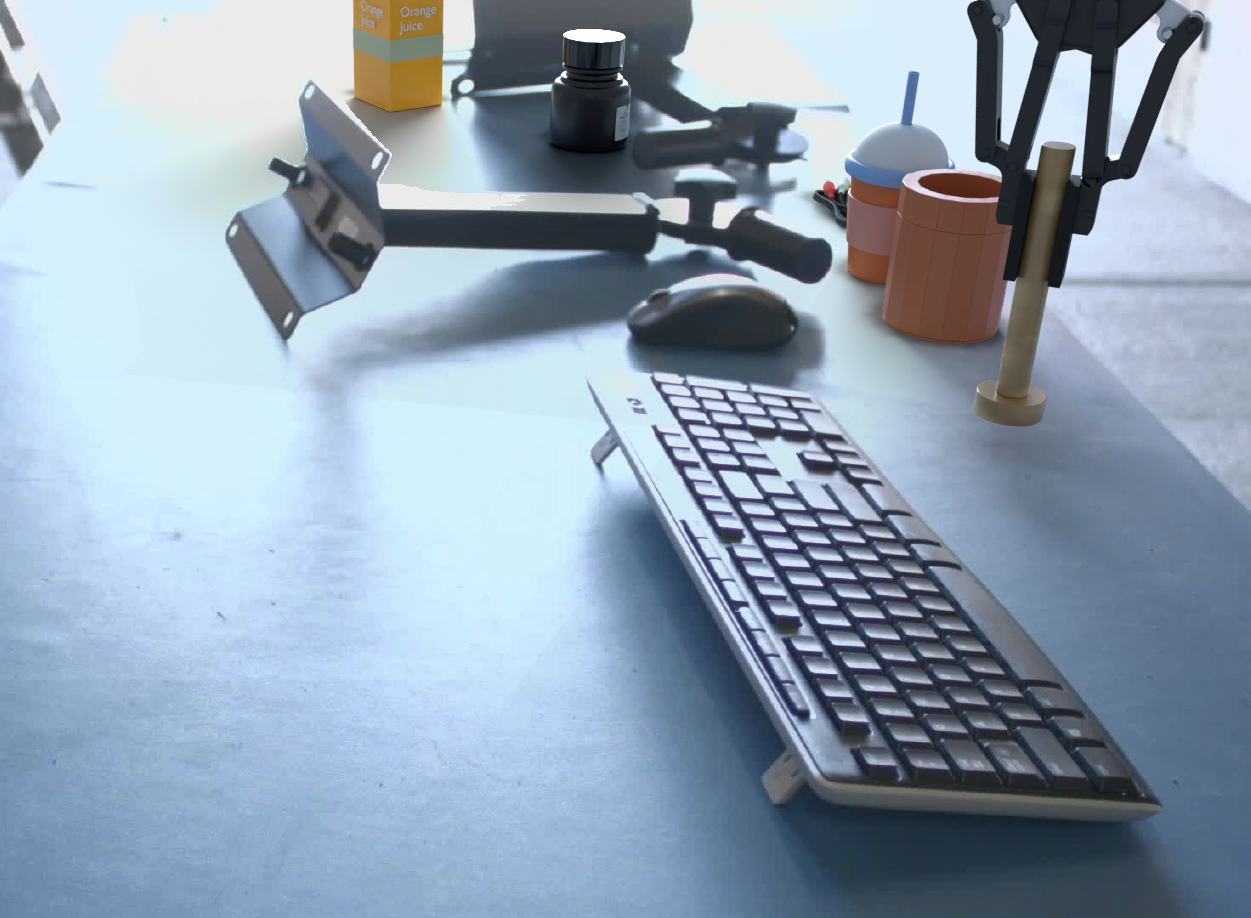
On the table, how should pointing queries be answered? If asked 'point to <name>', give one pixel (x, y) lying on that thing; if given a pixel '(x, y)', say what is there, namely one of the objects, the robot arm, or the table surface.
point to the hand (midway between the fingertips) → (1033, 277)
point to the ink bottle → (591, 93)
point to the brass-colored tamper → (1029, 298)
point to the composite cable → (835, 199)
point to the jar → (947, 258)
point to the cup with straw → (885, 185)
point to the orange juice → (398, 53)
